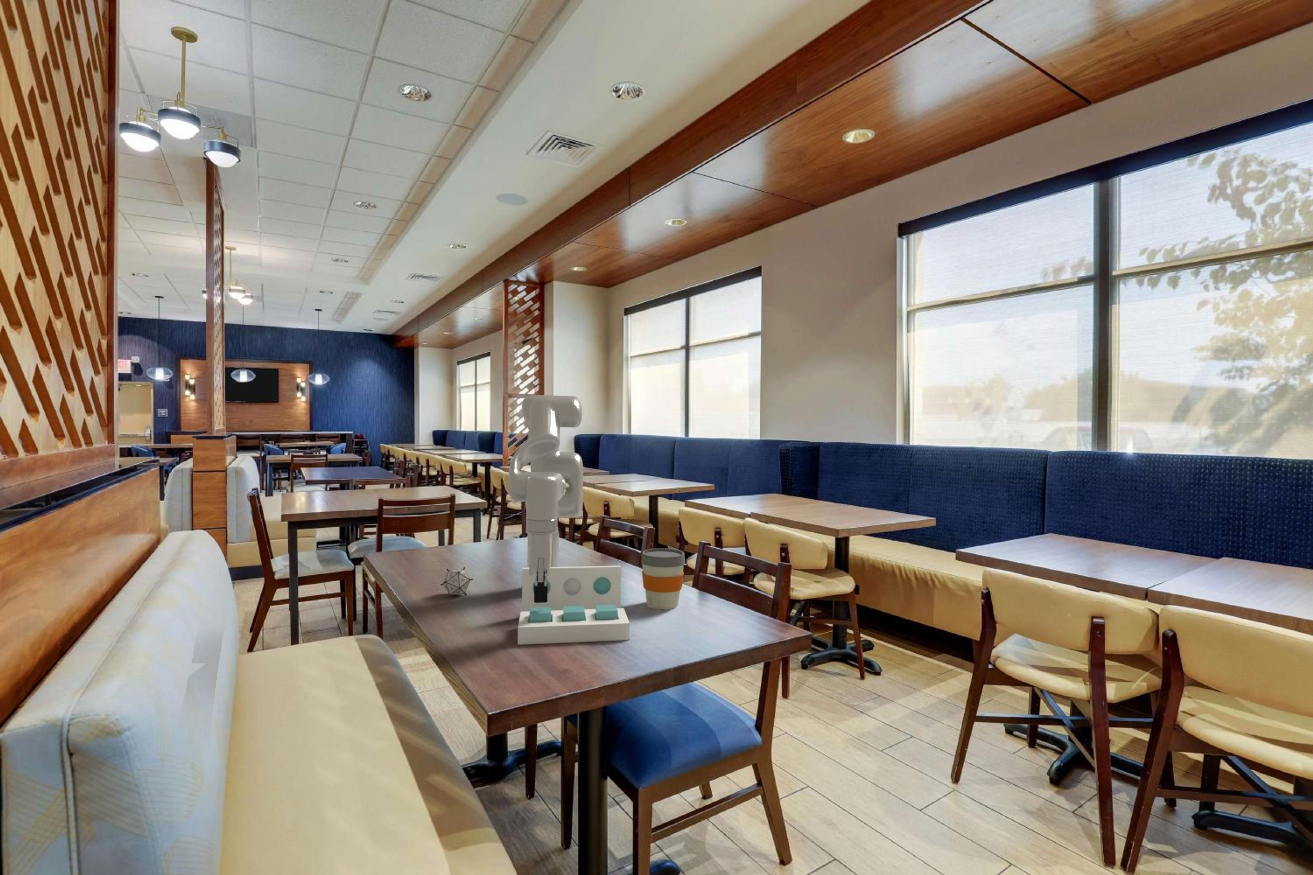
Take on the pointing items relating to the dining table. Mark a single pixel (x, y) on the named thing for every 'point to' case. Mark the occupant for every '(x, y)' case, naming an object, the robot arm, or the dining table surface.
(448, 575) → the grey geometric polyhedron ornament
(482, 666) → the dining table surface
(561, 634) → the button board
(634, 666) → the dining table surface
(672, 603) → the reusable coffee cup
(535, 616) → the button
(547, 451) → the robot arm
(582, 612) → the button
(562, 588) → the pattern sign
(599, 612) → the button
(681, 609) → the dining table surface
